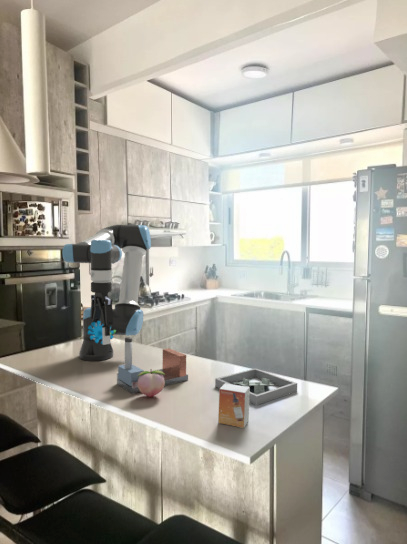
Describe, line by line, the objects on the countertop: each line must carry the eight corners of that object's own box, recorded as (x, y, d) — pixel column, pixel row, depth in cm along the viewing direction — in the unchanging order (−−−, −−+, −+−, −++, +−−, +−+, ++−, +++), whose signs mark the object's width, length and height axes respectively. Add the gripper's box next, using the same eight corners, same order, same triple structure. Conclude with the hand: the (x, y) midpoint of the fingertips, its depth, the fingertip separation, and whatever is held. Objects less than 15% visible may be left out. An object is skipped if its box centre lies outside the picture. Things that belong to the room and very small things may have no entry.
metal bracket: (280, 379, 138) (238, 380, 137) (281, 396, 137) (239, 397, 136) (269, 377, 152) (231, 378, 151) (270, 393, 151) (231, 393, 150)
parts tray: (215, 386, 146) (215, 378, 145) (254, 375, 159) (255, 368, 158) (256, 405, 129) (256, 396, 129) (297, 391, 142) (297, 383, 142)
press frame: (116, 383, 146) (117, 357, 146) (170, 371, 161) (170, 347, 161) (132, 393, 137) (132, 365, 136) (188, 380, 152) (188, 354, 151)
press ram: (118, 378, 145) (118, 335, 144) (130, 376, 149) (130, 334, 147) (131, 386, 138) (131, 341, 137) (143, 383, 141) (144, 339, 140)
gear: (90, 342, 141) (86, 319, 147) (85, 351, 145) (81, 328, 151) (119, 342, 148) (114, 320, 153) (113, 350, 151) (109, 328, 157)
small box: (217, 423, 115) (218, 388, 115) (223, 416, 121) (224, 382, 120) (244, 428, 113) (245, 392, 112) (249, 420, 118) (250, 386, 117)
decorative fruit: (160, 390, 140) (161, 363, 140) (166, 399, 133) (167, 370, 132) (134, 393, 137) (134, 365, 136) (139, 402, 129) (139, 373, 129)
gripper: (80, 279, 152) (81, 337, 154) (103, 284, 136) (103, 349, 138) (99, 278, 157) (99, 334, 158) (123, 283, 141) (123, 346, 143)
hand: (101, 341), depth 148 cm, fingers closed on gear, 8 cm apart
